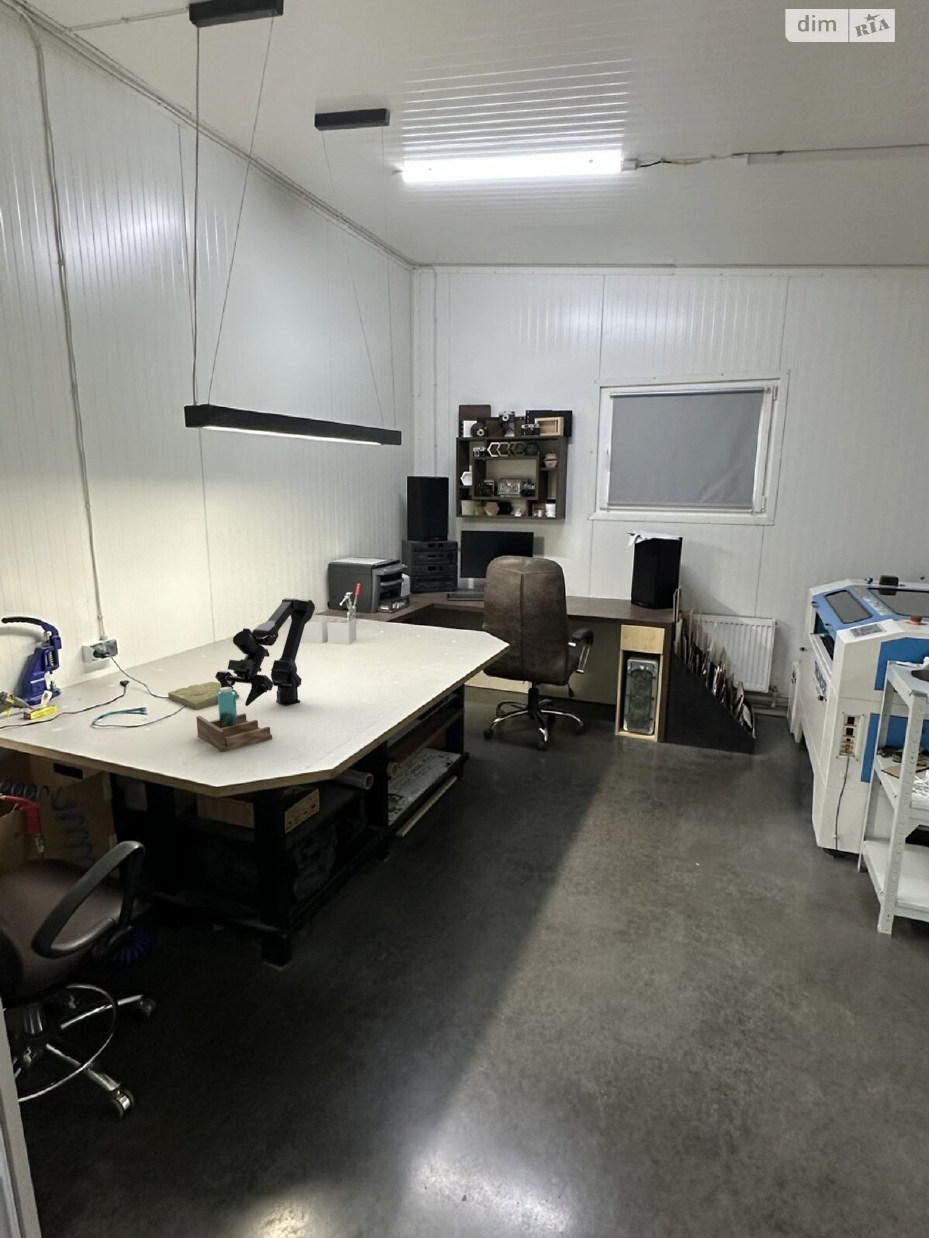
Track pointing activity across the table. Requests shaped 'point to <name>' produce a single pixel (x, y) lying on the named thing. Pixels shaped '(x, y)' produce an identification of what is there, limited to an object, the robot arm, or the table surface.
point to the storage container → (329, 632)
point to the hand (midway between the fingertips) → (233, 703)
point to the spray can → (227, 707)
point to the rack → (232, 733)
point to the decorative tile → (198, 695)
